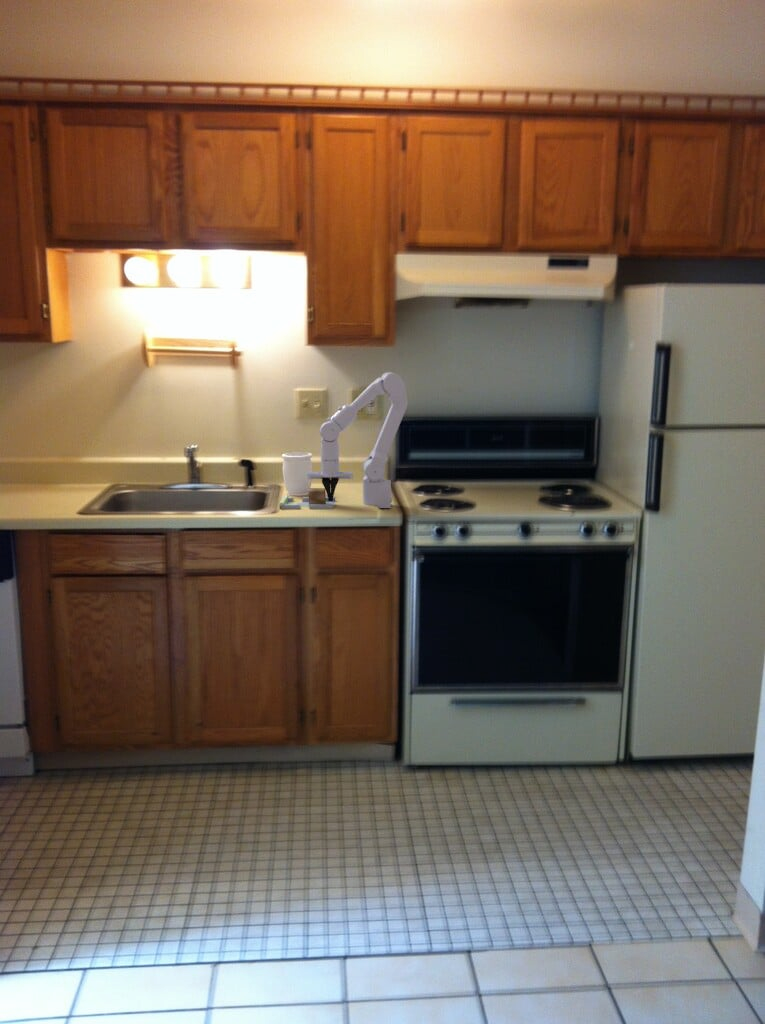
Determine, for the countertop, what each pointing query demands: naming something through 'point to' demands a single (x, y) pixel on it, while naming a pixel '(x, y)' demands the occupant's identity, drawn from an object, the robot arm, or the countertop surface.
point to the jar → (297, 472)
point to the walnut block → (317, 496)
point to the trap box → (304, 503)
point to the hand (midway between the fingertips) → (330, 500)
